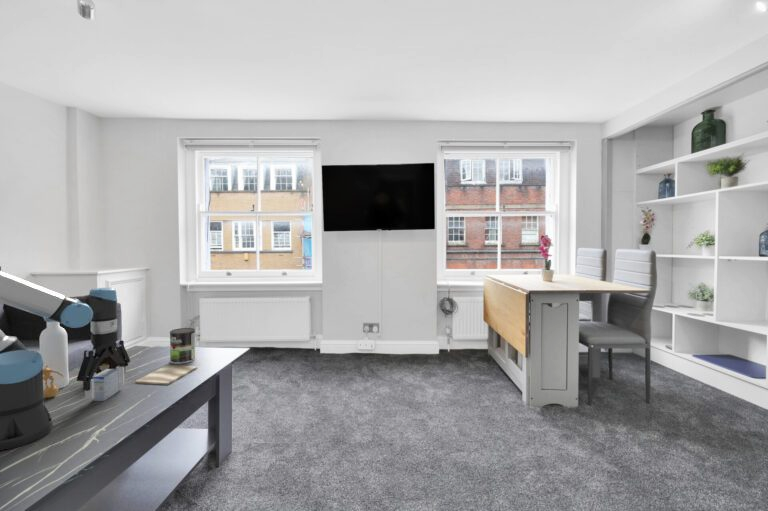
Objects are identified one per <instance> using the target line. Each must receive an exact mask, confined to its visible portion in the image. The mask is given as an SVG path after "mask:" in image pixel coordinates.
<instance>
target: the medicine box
mask: <svg viewBox="0 0 768 511" xmlns="http://www.w3.org/2000/svg"><path fill="white" fill-rule="evenodd" d="M91 380H94V399H91V401H93V402H104V401H106V400H108V399H109V398H111V397H113V396H114V395H115V394H117V393H118V392H119V391H120V384H119V369H106V370H104V371H102V372H100V373H98V374H97V373H96V374H94V375H93V377H92V379H91Z"/></svg>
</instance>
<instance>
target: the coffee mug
mask: <svg viewBox="0 0 768 511" xmlns="http://www.w3.org/2000/svg"><path fill="white" fill-rule="evenodd" d="M96 358H97V357H96ZM116 367H118V365H117V363H116V362H115V361H114V360H113V359H112V358H111V357H106V358H104V359H103V360H102V361H101V362H100V364H99V366H98V368H97V369H96V371H95V374H96V375H97V374H98V373H100V372H102V371H104V370H106V369H116Z"/></svg>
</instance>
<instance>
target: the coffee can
mask: <svg viewBox="0 0 768 511" xmlns="http://www.w3.org/2000/svg"><path fill="white" fill-rule="evenodd" d="M195 331H196V329H195V328H194V327H182V328H181V327H179V328H175V329H171V330H170V331H169V336H170V337H169V341H170V342H169V343H170V344H169V345H170V348H169V349H170V350H169V351H170V360H169V362H170V363H171V364H172V365H174V364H175V365H177V364H178V365H181V364H182V363H183V364H187V363H190V362H193V361H195V360H196V343H195V342H196V332H195Z"/></svg>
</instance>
